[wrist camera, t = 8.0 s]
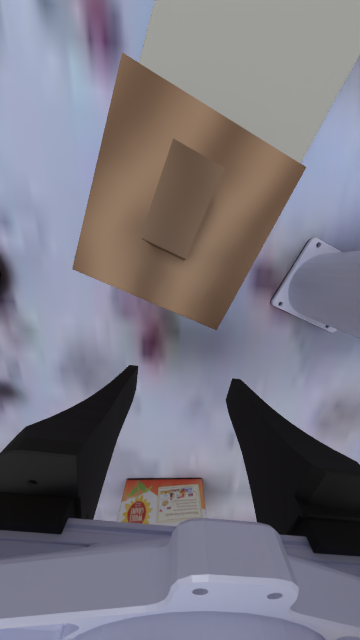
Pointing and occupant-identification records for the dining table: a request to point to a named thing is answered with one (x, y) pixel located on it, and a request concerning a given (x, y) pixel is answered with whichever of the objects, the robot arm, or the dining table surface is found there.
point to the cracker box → (162, 501)
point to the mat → (258, 60)
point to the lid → (179, 198)
